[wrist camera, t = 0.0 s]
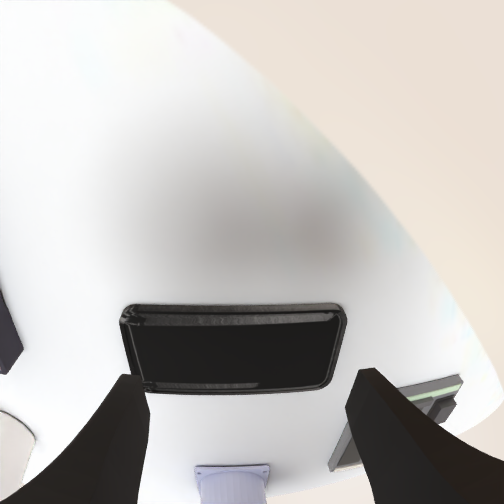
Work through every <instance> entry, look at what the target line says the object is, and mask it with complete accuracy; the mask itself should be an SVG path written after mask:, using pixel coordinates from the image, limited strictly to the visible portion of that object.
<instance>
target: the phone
mask: <svg viewBox="0 0 504 504" xmlns="http://www.w3.org/2000/svg"><path fill="white" fill-rule="evenodd" d="M119 325H120V330H121V334H122V339H123V343H124V347H125V351H126V355H127V359H128V363H129V367H130V371H131V375H140V376H141V380H142V384H143V388H144V392H147V393H157V394H178V395H252V394H274V393H290V392H303V391H314V390H319V389H322V388H324V387H326V386H327V385H328V384H329V383H330V382H331V380H332V377H333V374H334V370H335V367H336V363H337V360H338V356H339V352H340V349H341V345H342V341H343V337H344V333H345V329H346V325H347V317H346V314H345V312H344V311H343V309H342V308H341V307H340V306H339V305H337V304H304V305H259V306H185V305H140V304H135V305H130V306H127V307H126V308H125V309H124V310H123V312H122V315H121V317H120V320H119Z"/></svg>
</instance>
